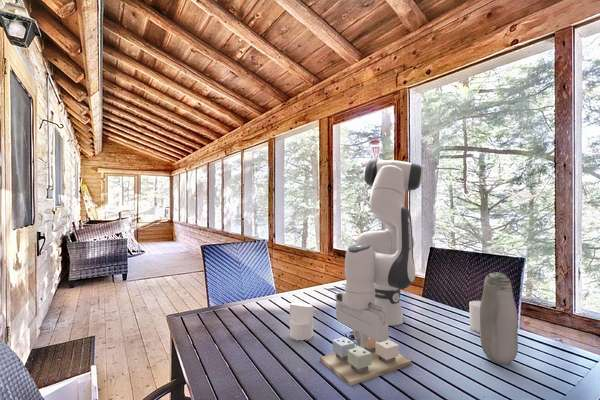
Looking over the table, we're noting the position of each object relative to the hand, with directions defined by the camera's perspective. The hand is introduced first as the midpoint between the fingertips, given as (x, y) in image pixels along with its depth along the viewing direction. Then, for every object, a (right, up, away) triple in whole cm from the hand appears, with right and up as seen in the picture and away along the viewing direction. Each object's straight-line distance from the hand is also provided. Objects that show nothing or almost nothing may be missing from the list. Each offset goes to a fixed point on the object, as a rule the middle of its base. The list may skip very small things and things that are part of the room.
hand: (360, 345), depth 92 cm
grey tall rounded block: (+46, -8, +7) cm, 47 cm away
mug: (+54, -9, +29) cm, 62 cm away
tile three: (-4, -6, +7) cm, 10 cm away
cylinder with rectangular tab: (-18, -9, +27) cm, 34 cm away
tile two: (0, -5, 0) cm, 5 cm away
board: (+3, -8, +7) cm, 11 cm away
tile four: (+6, -6, +13) cm, 15 cm away
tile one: (+9, -5, +6) cm, 12 cm away
